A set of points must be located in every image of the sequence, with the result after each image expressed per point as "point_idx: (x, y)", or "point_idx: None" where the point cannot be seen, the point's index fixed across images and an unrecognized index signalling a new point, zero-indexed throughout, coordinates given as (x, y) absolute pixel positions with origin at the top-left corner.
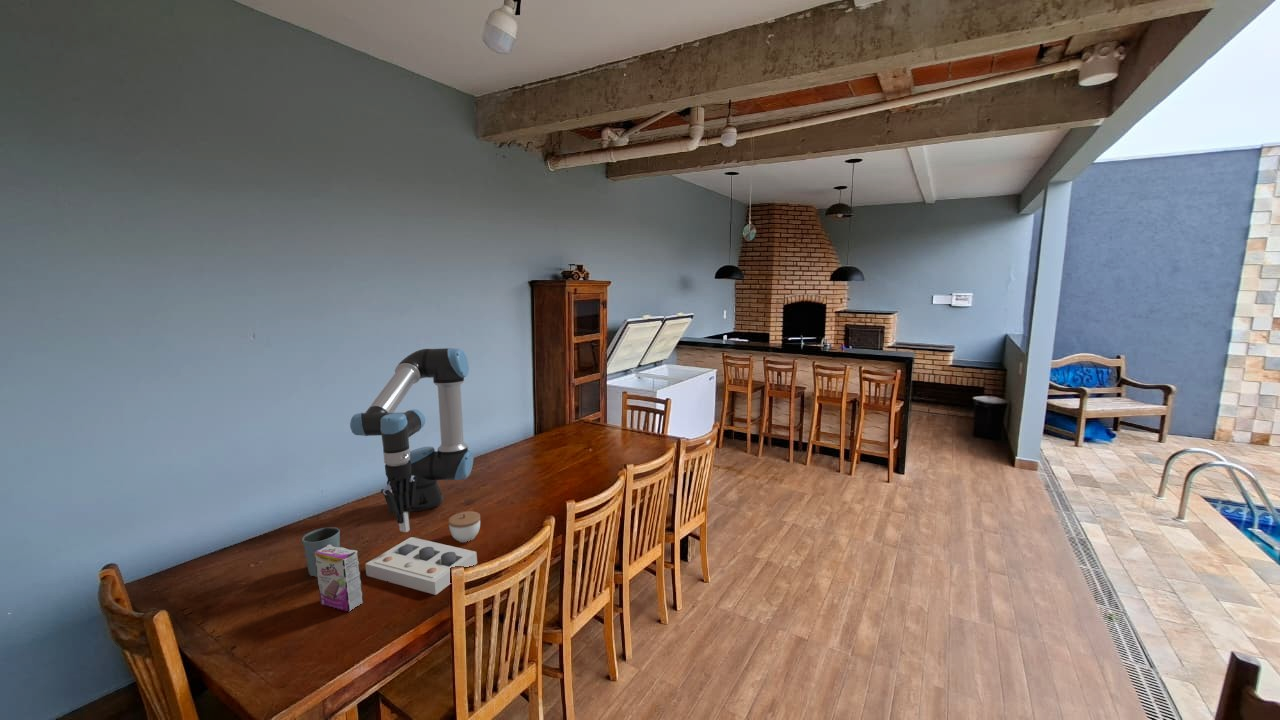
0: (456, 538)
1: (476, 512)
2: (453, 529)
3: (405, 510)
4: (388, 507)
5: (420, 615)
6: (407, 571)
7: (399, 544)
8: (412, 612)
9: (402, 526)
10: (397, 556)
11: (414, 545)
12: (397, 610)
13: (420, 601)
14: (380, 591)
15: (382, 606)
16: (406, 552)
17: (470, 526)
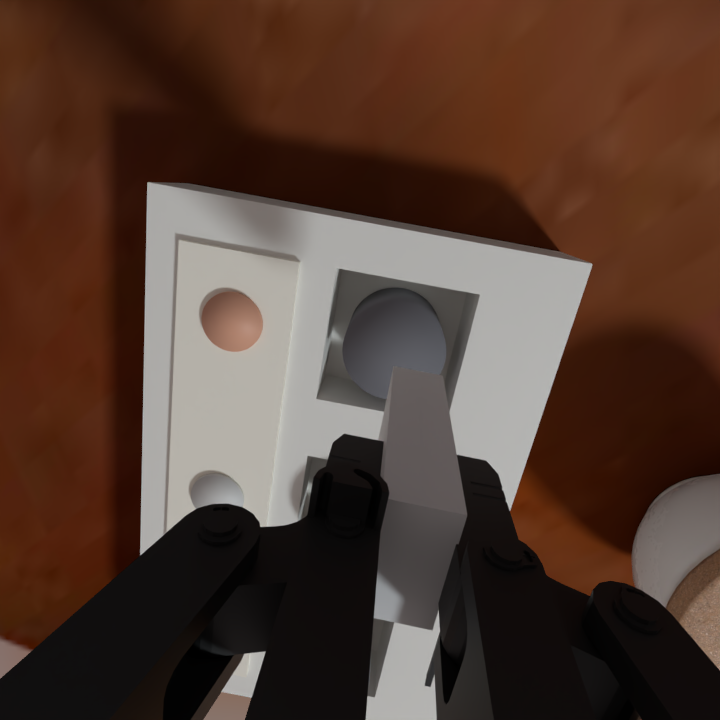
0: (638, 529)
1: None
2: (663, 574)
3: (441, 606)
4: (54, 632)
5: (45, 625)
6: (168, 514)
7: (458, 250)
8: (45, 592)
9: (381, 435)
10: (283, 363)
11: (457, 377)
12: (29, 534)
13: None
14: (100, 377)
15: (20, 461)
16: (357, 380)
17: None
